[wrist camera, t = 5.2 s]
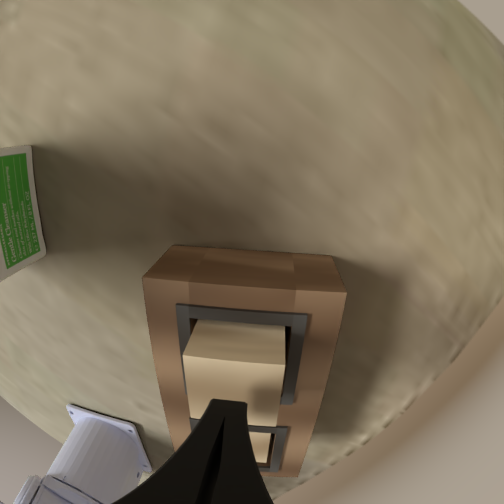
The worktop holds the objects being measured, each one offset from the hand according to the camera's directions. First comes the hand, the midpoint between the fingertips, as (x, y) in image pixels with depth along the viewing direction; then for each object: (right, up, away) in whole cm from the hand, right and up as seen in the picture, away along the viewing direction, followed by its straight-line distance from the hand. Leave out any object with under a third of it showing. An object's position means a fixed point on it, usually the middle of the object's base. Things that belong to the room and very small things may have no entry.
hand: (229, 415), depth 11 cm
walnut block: (0, -1, +9) cm, 9 cm away
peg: (0, +2, +5) cm, 5 cm away
